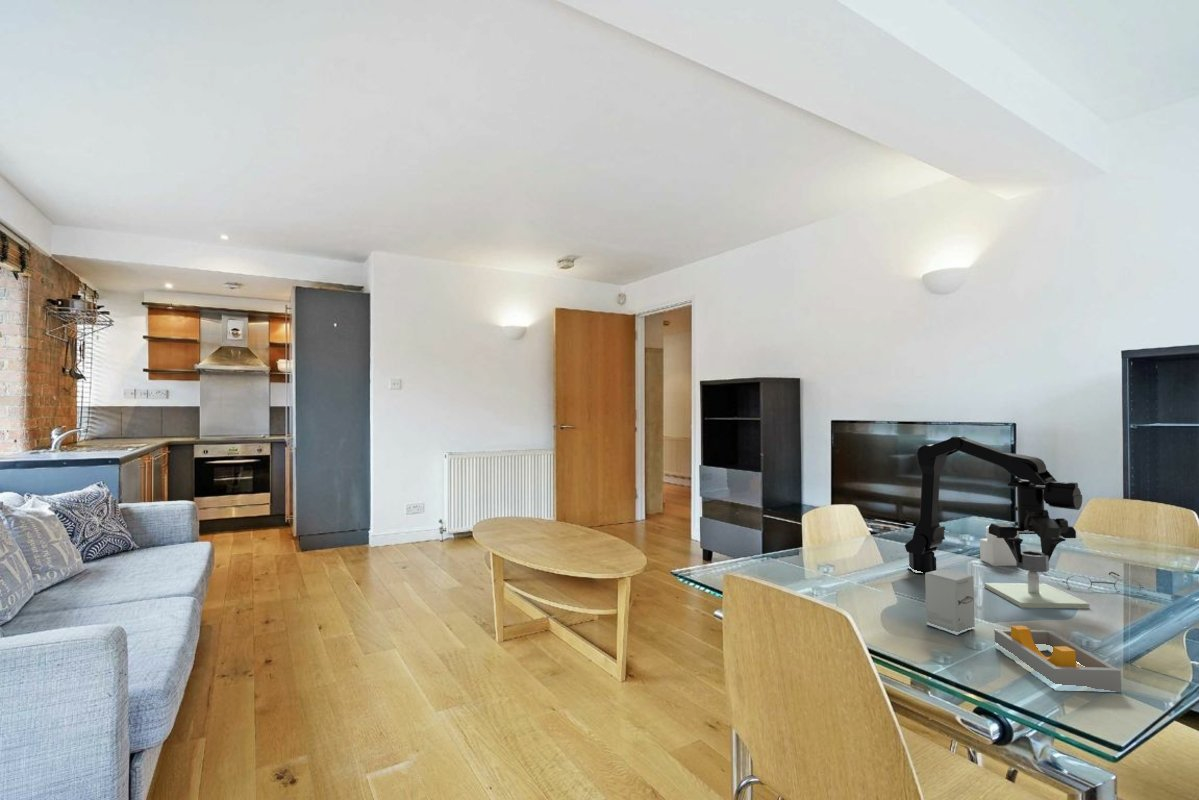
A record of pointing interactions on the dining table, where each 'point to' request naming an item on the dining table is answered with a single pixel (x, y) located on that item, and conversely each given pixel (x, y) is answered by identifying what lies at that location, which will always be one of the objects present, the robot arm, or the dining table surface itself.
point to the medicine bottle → (996, 551)
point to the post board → (1035, 594)
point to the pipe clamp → (1059, 656)
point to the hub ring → (1033, 561)
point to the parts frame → (1090, 675)
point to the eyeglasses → (1102, 581)
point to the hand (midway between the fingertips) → (1032, 562)
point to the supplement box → (950, 599)
